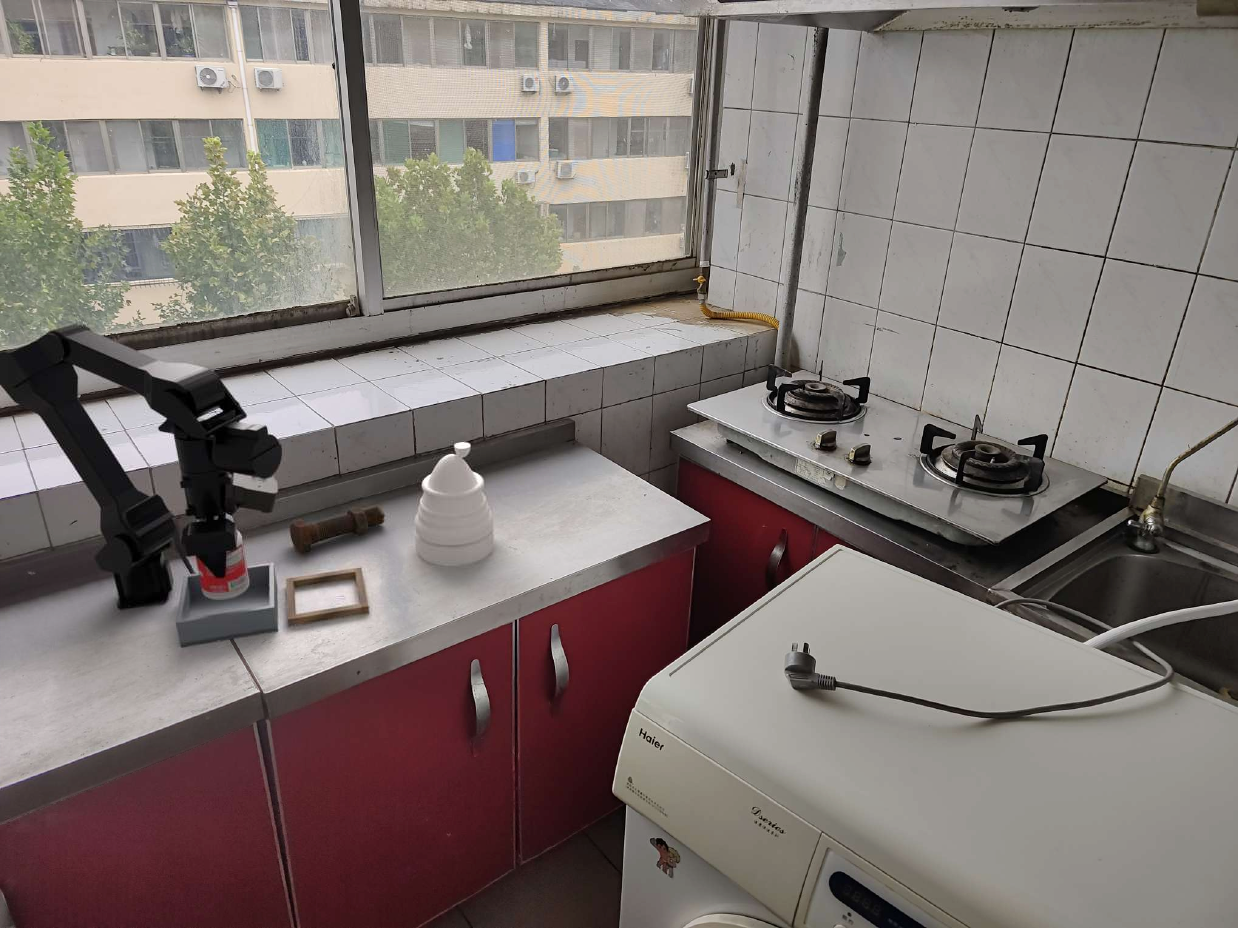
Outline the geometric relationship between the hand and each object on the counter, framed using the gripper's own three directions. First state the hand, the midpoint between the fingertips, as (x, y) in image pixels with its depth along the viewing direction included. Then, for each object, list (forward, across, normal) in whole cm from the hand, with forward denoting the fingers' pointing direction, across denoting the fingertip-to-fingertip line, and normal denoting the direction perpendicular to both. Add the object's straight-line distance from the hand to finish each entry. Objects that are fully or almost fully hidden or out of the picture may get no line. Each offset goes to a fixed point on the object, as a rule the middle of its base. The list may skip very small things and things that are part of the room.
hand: (222, 565), depth 115 cm
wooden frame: (+8, 0, -13) cm, 15 cm away
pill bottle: (+4, 0, 0) cm, 4 cm away
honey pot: (+8, +10, -34) cm, 37 cm away
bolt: (+9, +18, -16) cm, 26 cm away
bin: (+8, 0, 0) cm, 8 cm away
